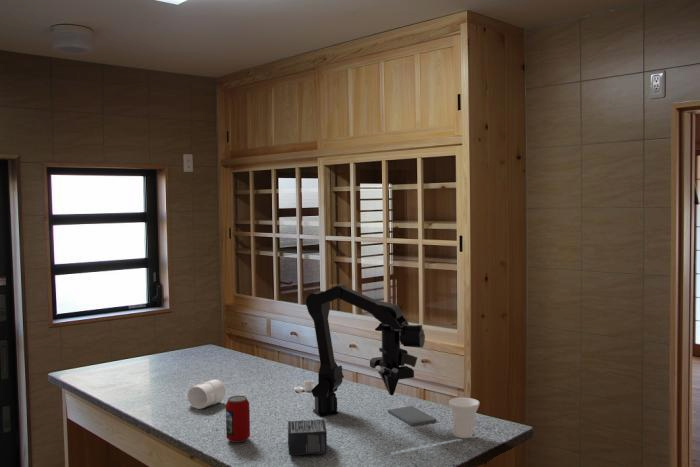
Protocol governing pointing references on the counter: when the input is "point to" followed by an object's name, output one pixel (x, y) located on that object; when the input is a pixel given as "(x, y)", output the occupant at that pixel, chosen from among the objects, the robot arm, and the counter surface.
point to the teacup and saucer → (307, 387)
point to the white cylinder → (206, 394)
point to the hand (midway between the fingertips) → (391, 394)
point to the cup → (463, 416)
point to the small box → (307, 437)
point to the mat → (411, 415)
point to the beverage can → (237, 419)
